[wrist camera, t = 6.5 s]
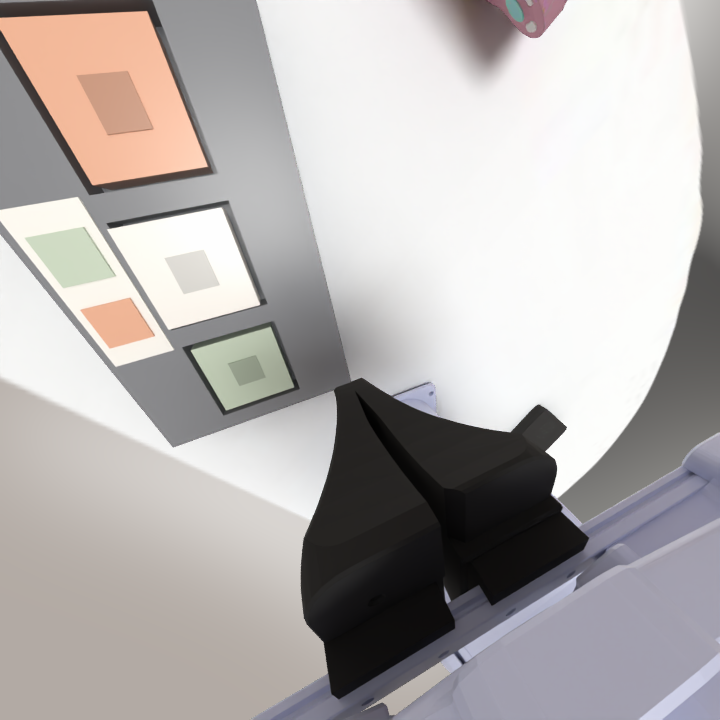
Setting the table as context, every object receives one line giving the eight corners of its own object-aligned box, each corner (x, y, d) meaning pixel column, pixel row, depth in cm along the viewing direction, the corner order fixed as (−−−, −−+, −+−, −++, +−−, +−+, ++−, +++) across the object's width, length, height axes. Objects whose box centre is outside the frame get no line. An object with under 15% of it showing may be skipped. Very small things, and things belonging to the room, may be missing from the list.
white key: (260, 298, 14) (260, 305, 13) (177, 320, 14) (168, 330, 12) (225, 209, 12) (221, 207, 11) (123, 229, 11) (106, 229, 10)
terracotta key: (213, 173, 12) (207, 166, 11) (111, 190, 11) (91, 185, 10) (161, 38, 10) (146, 9, 9) (30, 47, 9) (-9, 16, 8)
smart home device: (569, 429, 35) (472, 527, 39) (557, 421, 37) (465, 516, 40) (547, 408, 31) (440, 521, 35) (534, 400, 32) (433, 509, 36)
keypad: (342, 367, 21) (352, 385, 18) (183, 422, 18) (171, 450, 16) (246, 2, 11) (242, -59, 9) (-111, 17, 9) (-246, -59, 6)
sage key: (291, 376, 18) (294, 387, 17) (228, 397, 17) (226, 411, 16) (270, 319, 16) (270, 327, 15) (196, 340, 15) (190, 350, 14)
